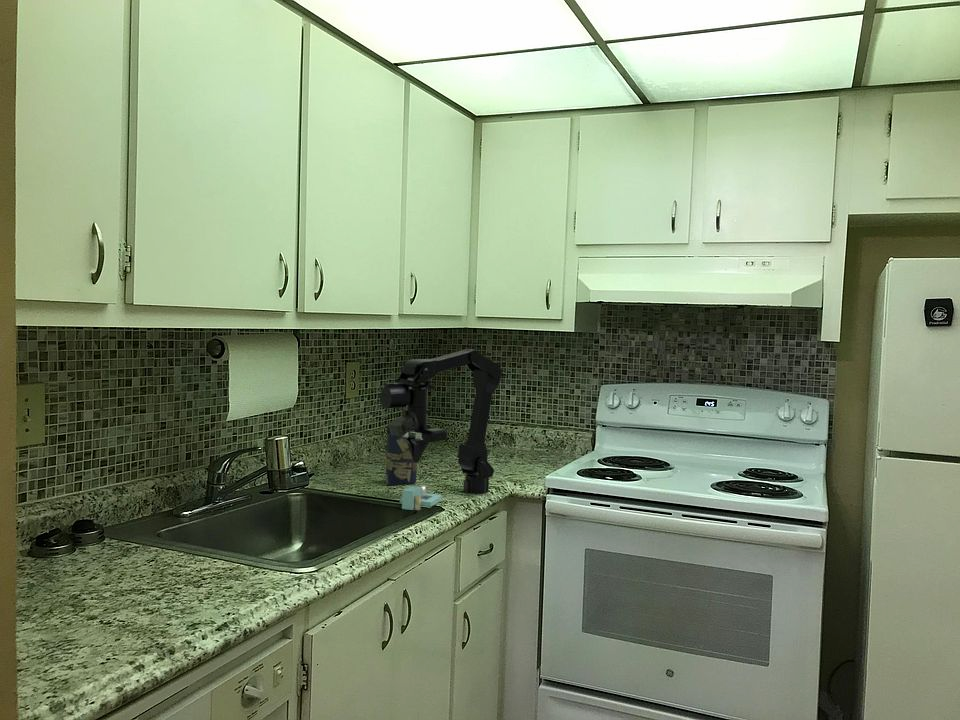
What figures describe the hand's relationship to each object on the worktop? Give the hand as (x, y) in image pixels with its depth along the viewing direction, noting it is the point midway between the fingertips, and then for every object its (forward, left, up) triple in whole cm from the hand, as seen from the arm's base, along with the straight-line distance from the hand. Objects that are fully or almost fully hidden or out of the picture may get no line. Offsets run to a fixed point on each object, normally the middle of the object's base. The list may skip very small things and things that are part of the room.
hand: (416, 462), depth 210 cm
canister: (-6, -25, -12) cm, 28 cm away
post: (-2, +1, -11) cm, 11 cm away
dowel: (+3, +9, -11) cm, 14 cm away
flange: (0, +3, -11) cm, 11 cm away
